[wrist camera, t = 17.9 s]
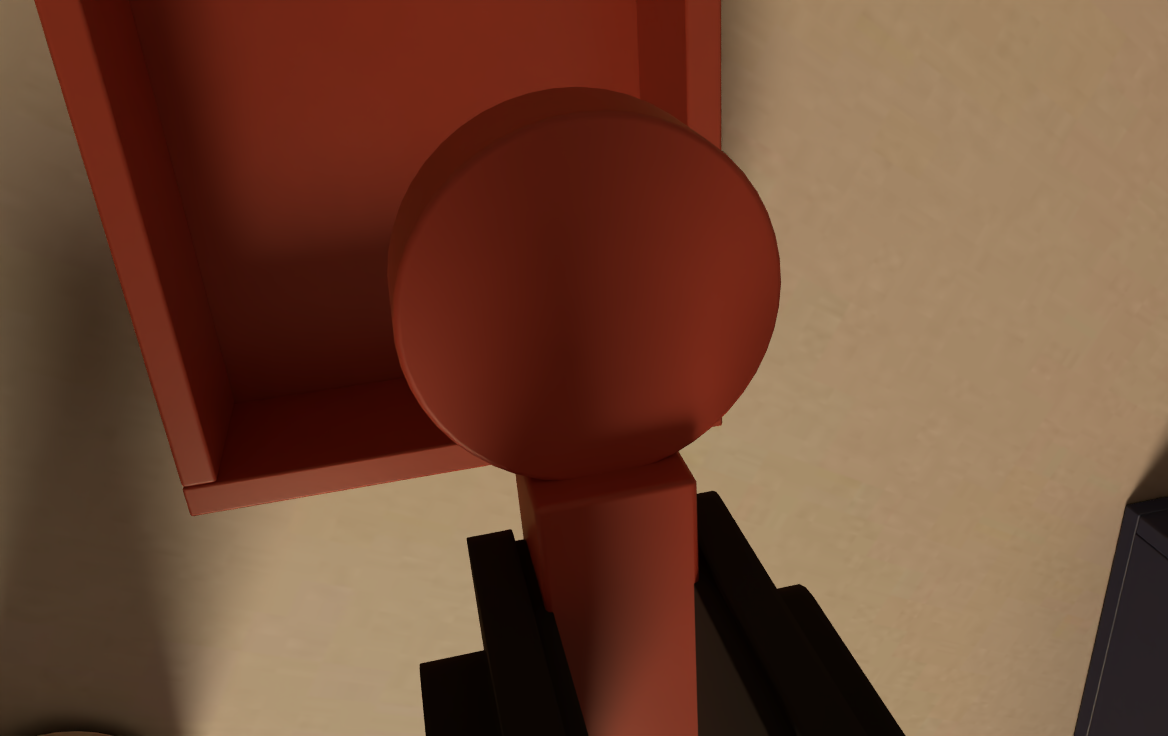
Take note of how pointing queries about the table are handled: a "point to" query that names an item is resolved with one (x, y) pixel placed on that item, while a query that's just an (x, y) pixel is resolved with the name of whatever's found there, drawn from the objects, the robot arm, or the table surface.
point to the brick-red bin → (313, 198)
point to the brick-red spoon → (590, 359)
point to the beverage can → (75, 734)
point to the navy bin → (1132, 633)
